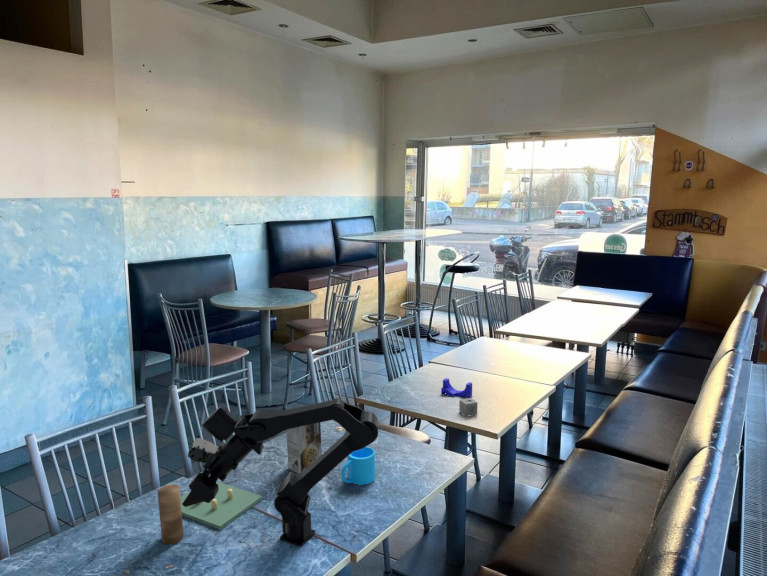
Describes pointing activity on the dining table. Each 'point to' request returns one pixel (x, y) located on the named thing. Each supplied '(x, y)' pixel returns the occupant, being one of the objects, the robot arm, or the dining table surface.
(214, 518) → the standoff plate
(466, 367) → the dining table surface
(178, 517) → the walnut cylinder
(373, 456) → the mug
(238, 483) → the dining table surface
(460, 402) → the dice cube
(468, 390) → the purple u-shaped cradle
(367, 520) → the dining table surface
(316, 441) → the coffee box
